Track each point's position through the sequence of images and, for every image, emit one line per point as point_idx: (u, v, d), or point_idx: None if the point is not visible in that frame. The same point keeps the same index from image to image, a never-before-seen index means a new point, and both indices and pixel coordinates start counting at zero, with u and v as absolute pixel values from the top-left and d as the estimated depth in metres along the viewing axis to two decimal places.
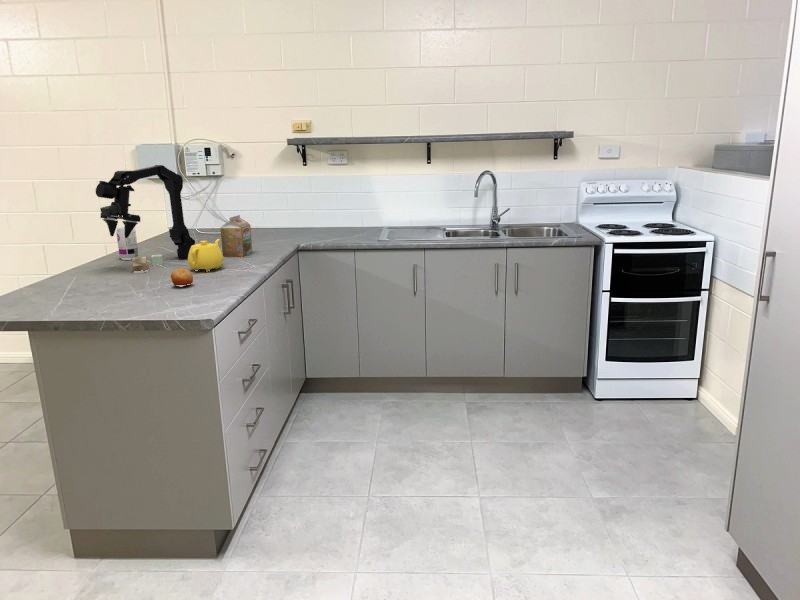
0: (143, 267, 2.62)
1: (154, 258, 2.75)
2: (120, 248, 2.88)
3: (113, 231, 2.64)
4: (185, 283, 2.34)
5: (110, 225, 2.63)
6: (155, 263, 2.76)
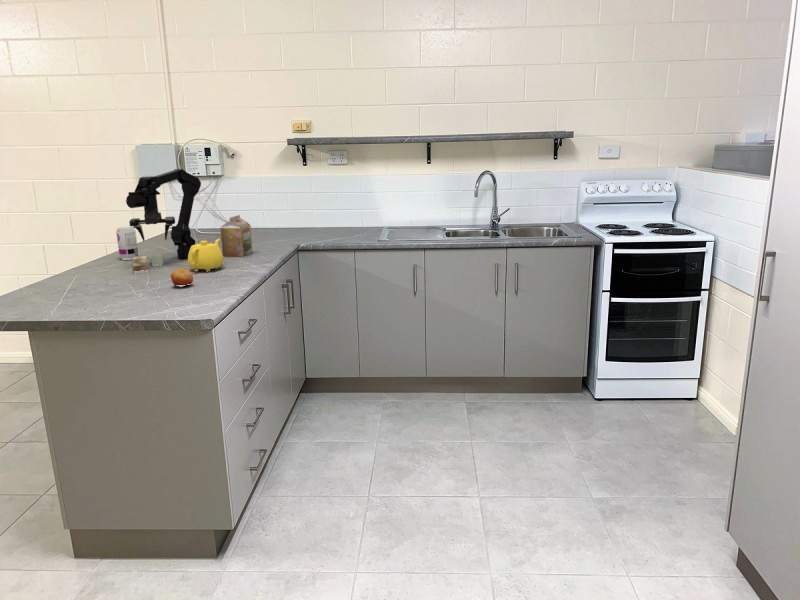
0: (143, 267, 2.62)
1: (154, 258, 2.75)
2: (120, 248, 2.88)
3: (143, 236, 2.74)
4: (185, 283, 2.34)
5: (142, 231, 2.72)
6: (155, 263, 2.76)
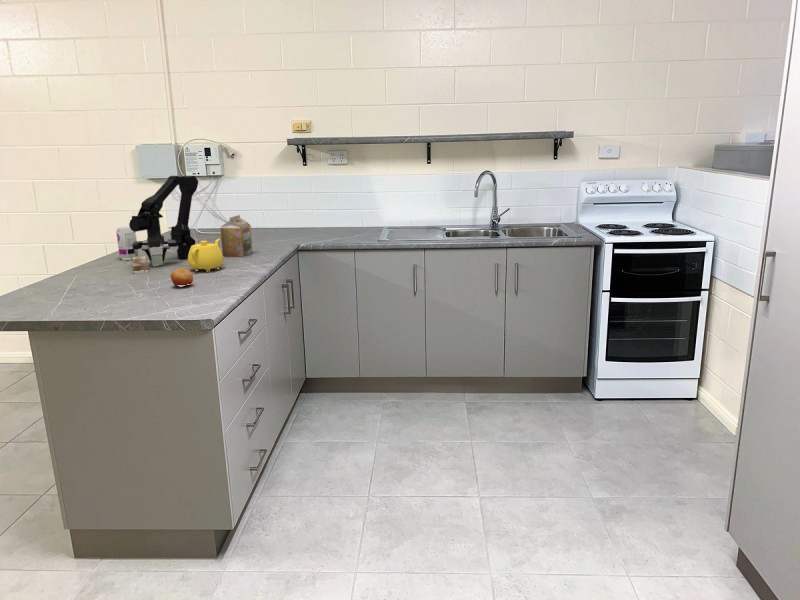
0: (143, 267, 2.62)
1: (154, 258, 2.75)
2: (120, 248, 2.88)
3: None
4: (185, 283, 2.34)
5: (150, 253, 2.75)
6: (155, 263, 2.76)
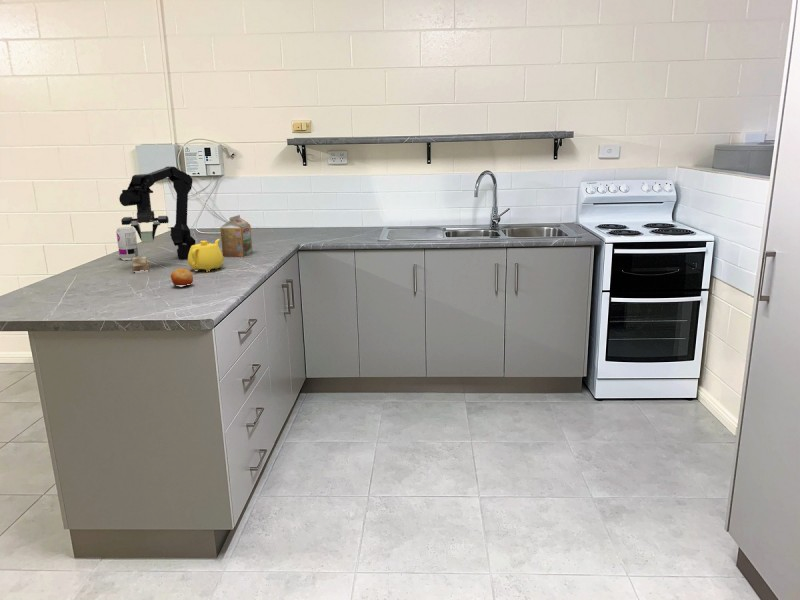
0: (143, 267, 2.62)
1: (144, 234, 2.67)
2: (120, 248, 2.88)
3: None
4: (185, 283, 2.34)
5: (139, 230, 2.67)
6: (145, 240, 2.67)
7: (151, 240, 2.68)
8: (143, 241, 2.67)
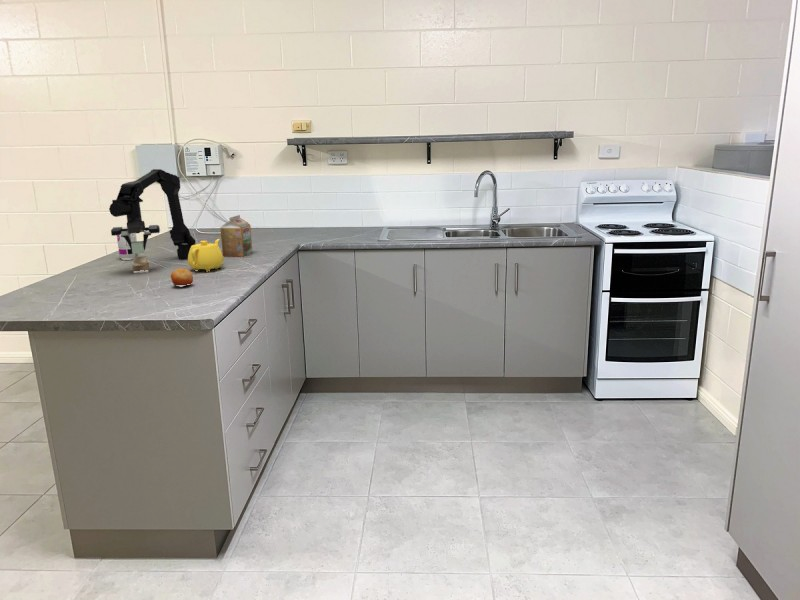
0: (143, 267, 2.62)
1: (134, 245, 2.59)
2: (120, 248, 2.88)
3: None
4: (185, 283, 2.34)
5: (130, 240, 2.59)
6: (135, 250, 2.60)
7: (142, 250, 2.61)
8: (134, 252, 2.60)
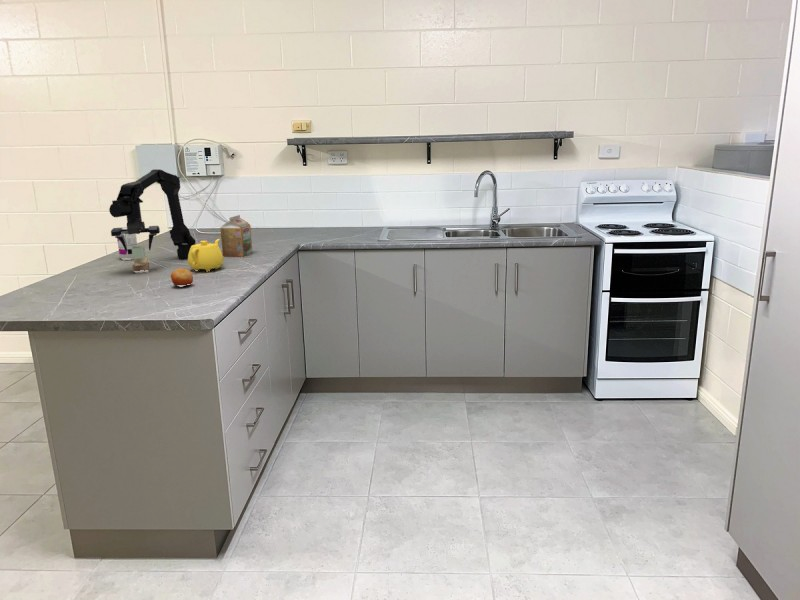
0: (143, 267, 2.62)
1: (135, 250, 2.60)
2: (120, 248, 2.88)
3: (126, 246, 2.61)
4: (185, 283, 2.34)
5: (124, 241, 2.59)
6: (136, 255, 2.60)
7: (142, 256, 2.61)
8: (134, 257, 2.60)
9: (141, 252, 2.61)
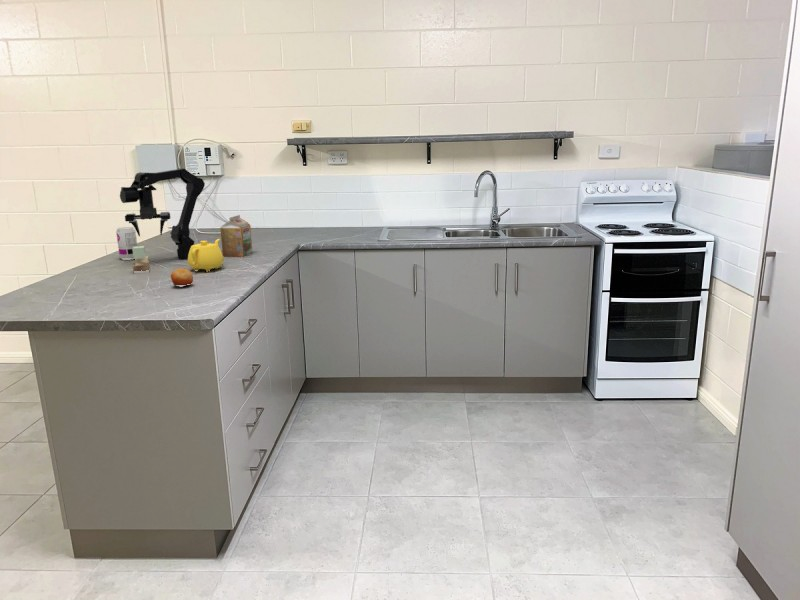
0: (144, 267, 2.62)
1: (135, 250, 2.60)
2: (120, 248, 2.88)
3: None
4: (185, 283, 2.34)
5: (137, 226, 2.75)
6: (137, 255, 2.61)
7: (143, 255, 2.61)
8: (135, 257, 2.61)
9: (142, 252, 2.61)
